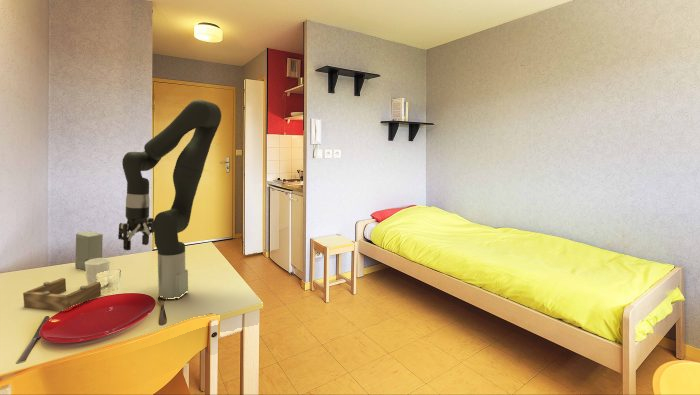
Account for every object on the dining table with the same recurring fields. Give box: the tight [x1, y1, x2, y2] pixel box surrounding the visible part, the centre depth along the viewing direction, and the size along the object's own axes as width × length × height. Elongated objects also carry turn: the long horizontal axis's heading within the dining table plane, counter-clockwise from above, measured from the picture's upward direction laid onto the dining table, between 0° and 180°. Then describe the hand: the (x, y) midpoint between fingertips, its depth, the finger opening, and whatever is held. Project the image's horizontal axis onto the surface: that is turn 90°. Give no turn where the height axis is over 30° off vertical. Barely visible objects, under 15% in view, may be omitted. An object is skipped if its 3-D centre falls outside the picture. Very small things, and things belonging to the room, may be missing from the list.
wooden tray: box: [22, 277, 102, 312], centre depth 121 cm, size 16×14×6 cm
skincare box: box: [74, 231, 104, 271], centre depth 152 cm, size 8×7×16 cm
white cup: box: [84, 257, 110, 286], centre depth 134 cm, size 8×8×10 cm
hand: (136, 247), depth 128 cm, fingers open, 8 cm apart
